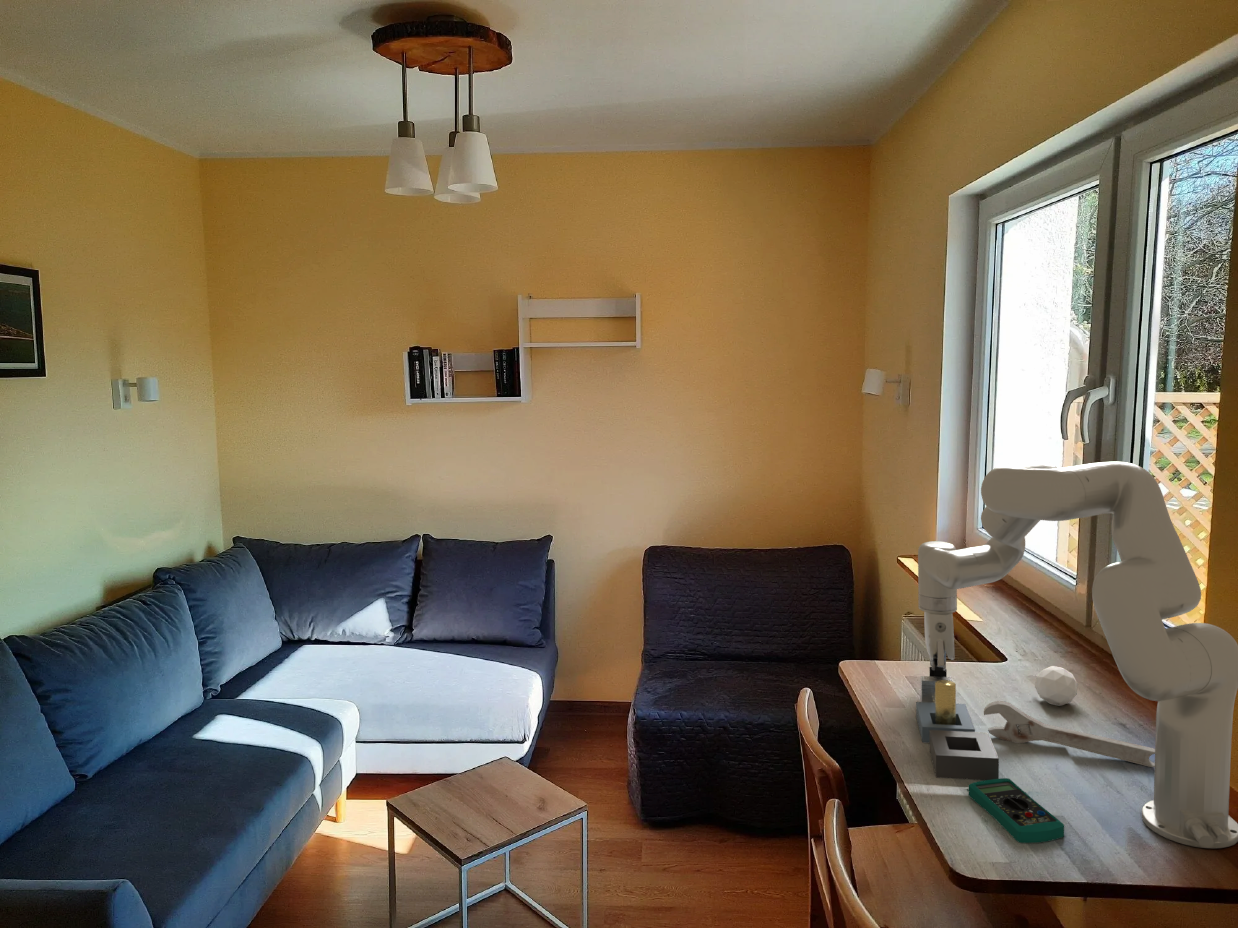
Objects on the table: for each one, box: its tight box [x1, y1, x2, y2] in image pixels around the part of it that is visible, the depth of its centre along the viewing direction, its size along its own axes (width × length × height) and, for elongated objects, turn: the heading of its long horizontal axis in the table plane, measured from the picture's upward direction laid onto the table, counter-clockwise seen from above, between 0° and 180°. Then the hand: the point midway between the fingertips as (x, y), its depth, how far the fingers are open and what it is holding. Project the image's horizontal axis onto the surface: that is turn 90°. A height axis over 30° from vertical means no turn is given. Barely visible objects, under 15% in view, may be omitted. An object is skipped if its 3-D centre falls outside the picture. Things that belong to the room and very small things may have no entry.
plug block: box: [920, 675, 954, 703], centre depth 176 cm, size 9×6×6 cm
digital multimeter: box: [967, 777, 1065, 844], centre depth 139 cm, size 8×15×3 cm, turn 8°
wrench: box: [983, 700, 1155, 768], centre depth 158 cm, size 8×2×30 cm
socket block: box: [915, 701, 976, 744], centre depth 167 cm, size 12×9×4 cm
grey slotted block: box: [929, 730, 1000, 781], centre depth 153 cm, size 10×10×5 cm
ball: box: [1034, 665, 1079, 707], centre depth 179 cm, size 8×8×8 cm
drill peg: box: [935, 680, 957, 725], centre depth 165 cm, size 4×4×10 cm
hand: (938, 686), depth 183 cm, fingers closed
